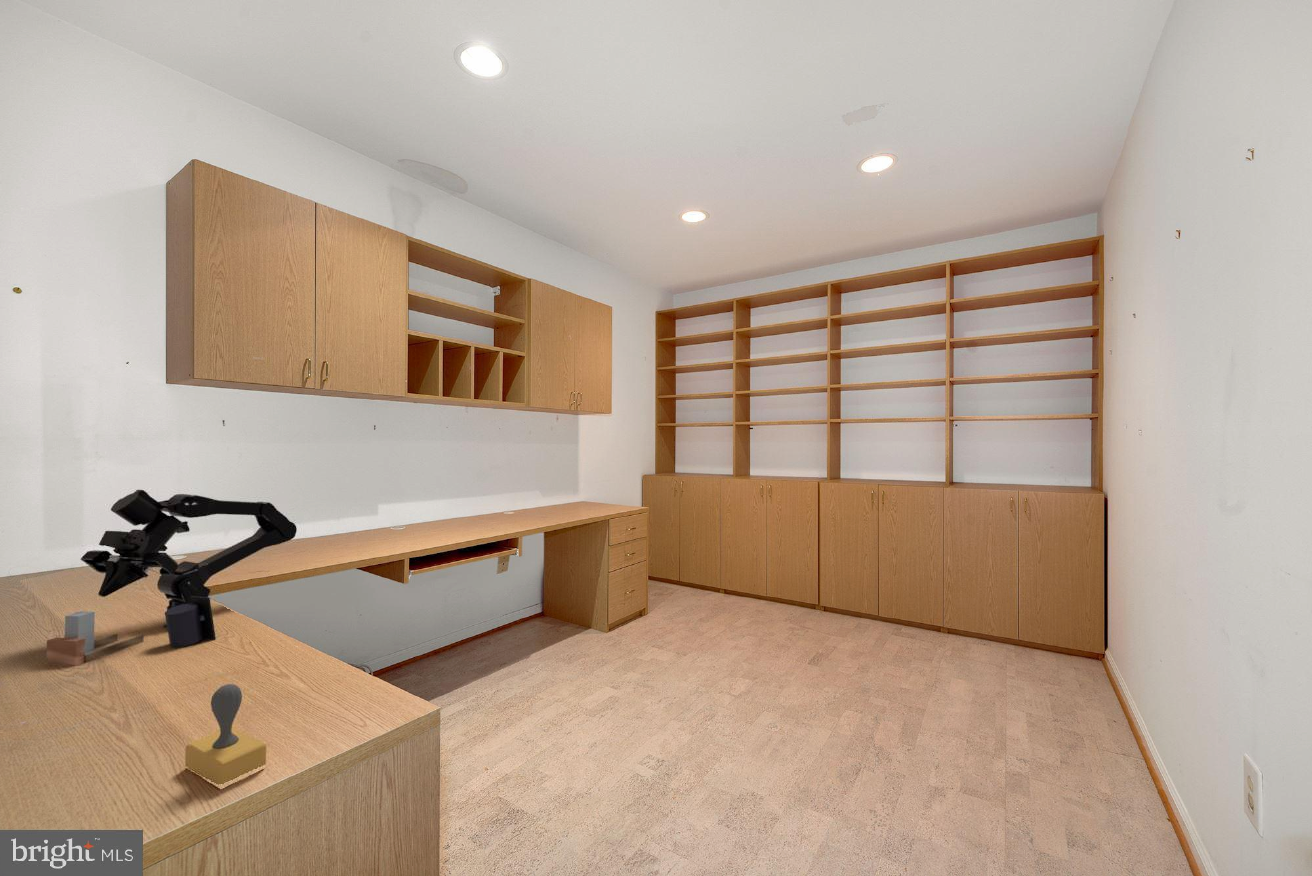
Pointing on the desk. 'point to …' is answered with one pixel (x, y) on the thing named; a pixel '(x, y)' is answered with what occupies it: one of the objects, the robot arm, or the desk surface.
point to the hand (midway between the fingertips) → (101, 595)
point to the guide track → (83, 649)
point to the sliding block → (81, 628)
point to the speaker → (190, 622)
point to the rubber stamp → (225, 743)
